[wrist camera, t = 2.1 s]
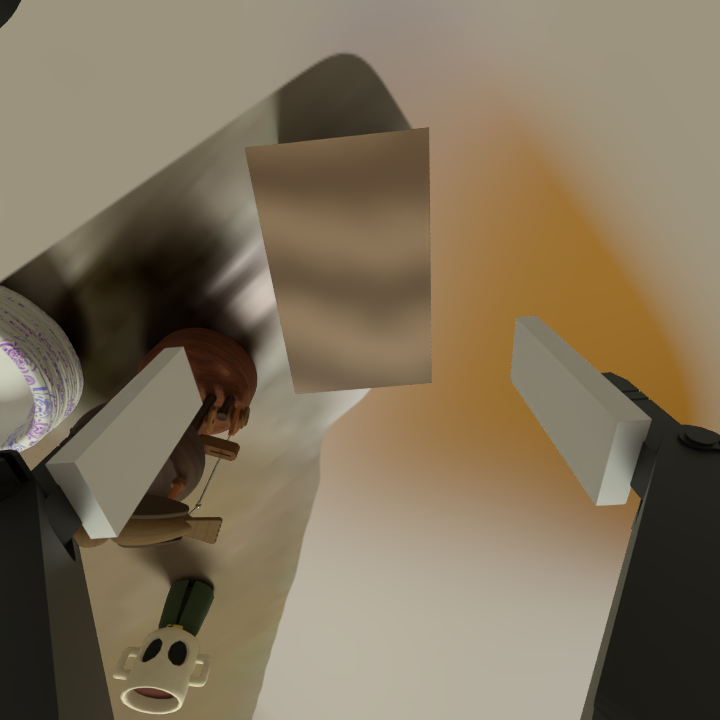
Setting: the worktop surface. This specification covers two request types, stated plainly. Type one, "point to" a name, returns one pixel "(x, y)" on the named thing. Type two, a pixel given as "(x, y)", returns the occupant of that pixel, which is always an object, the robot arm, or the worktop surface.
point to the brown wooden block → (349, 256)
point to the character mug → (168, 653)
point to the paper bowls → (33, 373)
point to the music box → (190, 441)
